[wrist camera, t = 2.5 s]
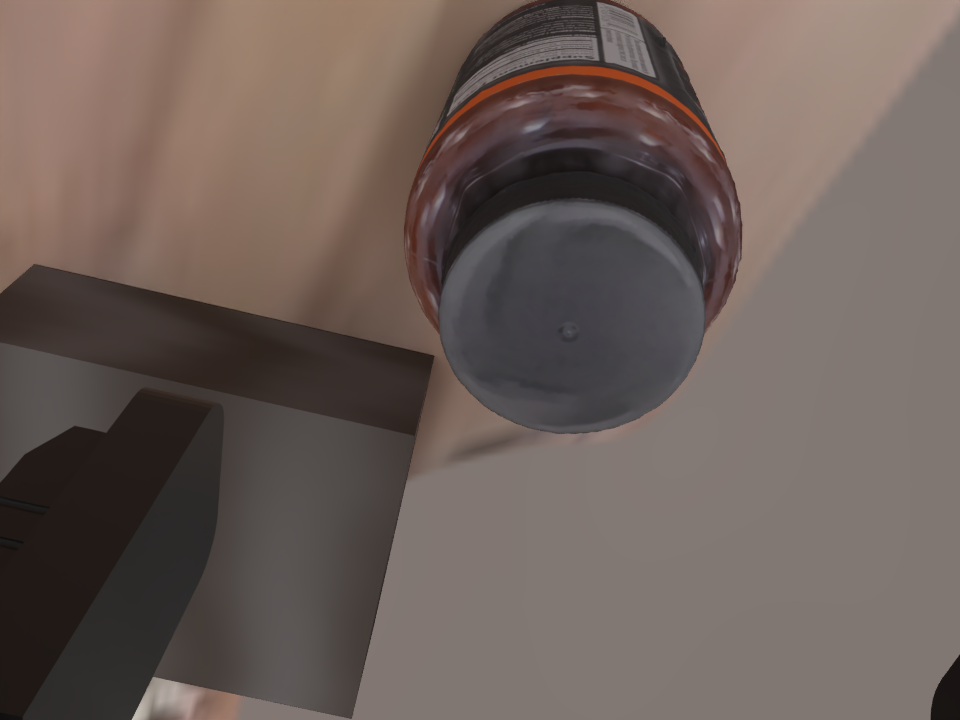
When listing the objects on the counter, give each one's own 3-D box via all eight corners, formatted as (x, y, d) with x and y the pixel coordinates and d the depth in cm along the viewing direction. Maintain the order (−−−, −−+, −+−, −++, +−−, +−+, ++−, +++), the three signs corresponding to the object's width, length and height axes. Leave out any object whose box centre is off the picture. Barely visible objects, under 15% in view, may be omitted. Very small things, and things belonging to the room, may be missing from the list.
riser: (49, 555, 33) (-11, 641, 30) (33, 264, 27) (-44, 332, 23) (373, 625, 34) (351, 718, 30) (434, 356, 27) (414, 435, 24)
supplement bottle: (693, 209, 24) (774, 481, 15) (472, 233, 25) (410, 504, 15) (686, -31, 21) (781, 111, 12) (434, 5, 22) (328, 166, 12)
